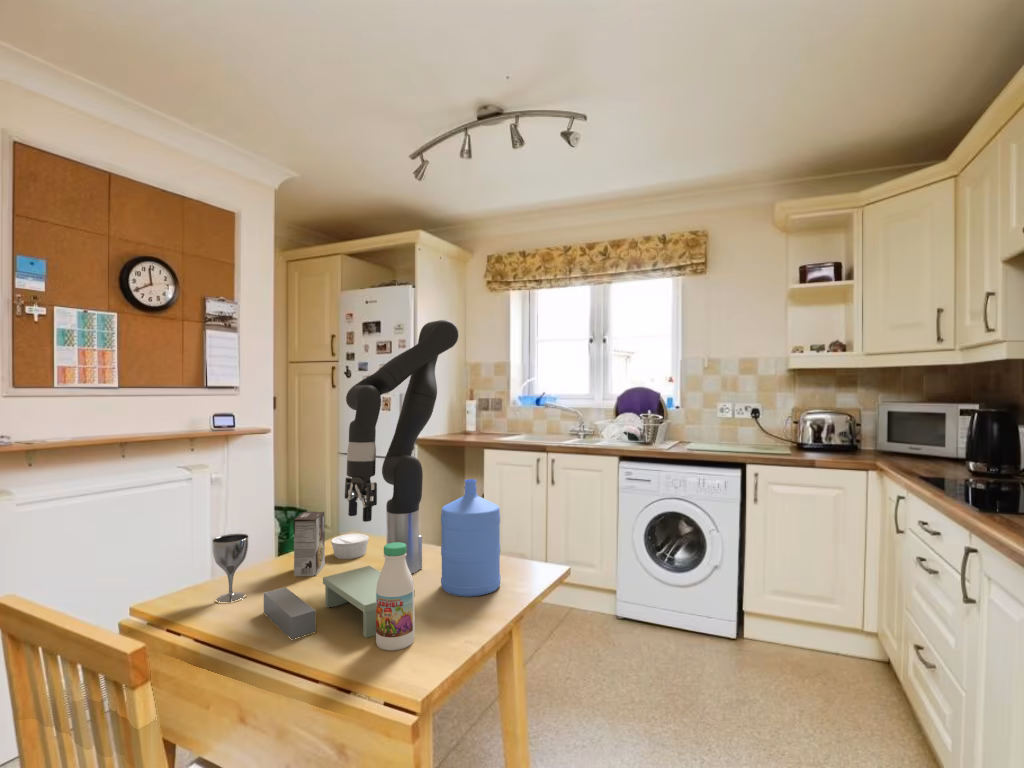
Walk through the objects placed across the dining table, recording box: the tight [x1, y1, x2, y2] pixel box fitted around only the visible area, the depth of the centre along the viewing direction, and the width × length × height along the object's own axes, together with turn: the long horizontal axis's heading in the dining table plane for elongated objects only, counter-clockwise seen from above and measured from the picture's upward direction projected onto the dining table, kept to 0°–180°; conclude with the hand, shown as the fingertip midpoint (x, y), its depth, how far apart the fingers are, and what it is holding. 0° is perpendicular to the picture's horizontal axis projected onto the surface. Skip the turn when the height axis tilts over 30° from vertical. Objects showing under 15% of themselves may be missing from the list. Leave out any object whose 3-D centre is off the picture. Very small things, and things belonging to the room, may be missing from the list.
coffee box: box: [293, 511, 326, 577], centre depth 148 cm, size 9×6×16 cm
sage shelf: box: [322, 565, 416, 639], centre depth 119 cm, size 12×22×7 cm, turn 42°
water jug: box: [440, 478, 502, 598], centre depth 136 cm, size 16×16×28 cm
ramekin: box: [330, 533, 370, 560], centre depth 162 cm, size 11×11×5 cm
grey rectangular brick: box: [263, 586, 317, 640], centre depth 115 cm, size 5×18×5 cm, turn 43°
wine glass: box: [211, 533, 249, 602], centre depth 129 cm, size 8×8×15 cm
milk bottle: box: [375, 542, 415, 652], centre depth 106 cm, size 8×8×20 cm
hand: (359, 518), depth 139 cm, fingers open, 8 cm apart
